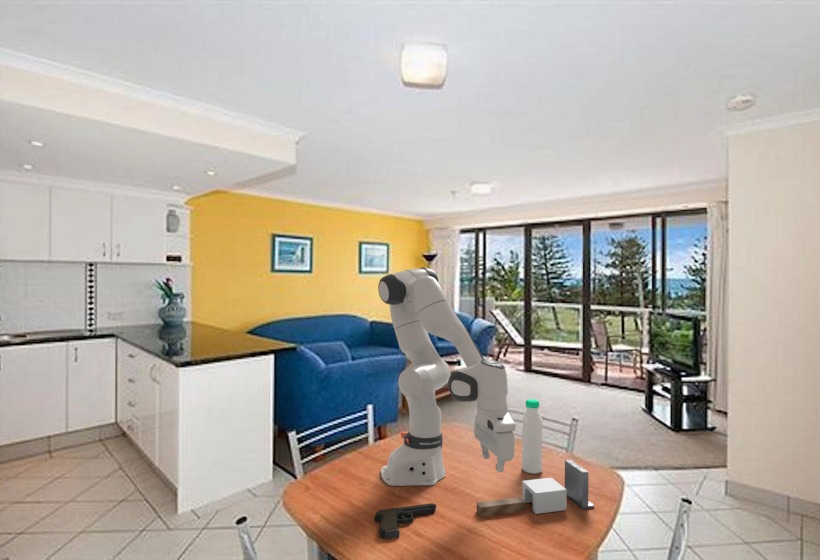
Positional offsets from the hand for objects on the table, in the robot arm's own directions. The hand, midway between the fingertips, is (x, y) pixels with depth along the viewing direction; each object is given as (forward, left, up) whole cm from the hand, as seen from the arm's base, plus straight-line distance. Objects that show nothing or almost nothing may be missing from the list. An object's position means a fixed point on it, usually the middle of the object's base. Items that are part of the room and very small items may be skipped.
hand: (492, 464), depth 126 cm
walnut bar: (+3, 0, -14) cm, 15 cm away
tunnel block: (+17, 0, -14) cm, 22 cm away
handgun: (-25, +1, -15) cm, 29 cm away
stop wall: (+28, 0, -14) cm, 31 cm away
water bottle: (+26, +23, -14) cm, 38 cm away
